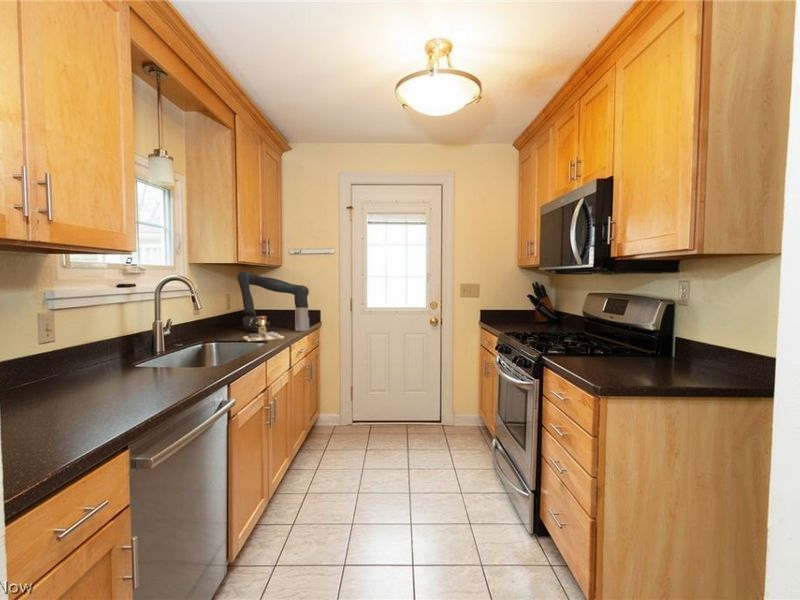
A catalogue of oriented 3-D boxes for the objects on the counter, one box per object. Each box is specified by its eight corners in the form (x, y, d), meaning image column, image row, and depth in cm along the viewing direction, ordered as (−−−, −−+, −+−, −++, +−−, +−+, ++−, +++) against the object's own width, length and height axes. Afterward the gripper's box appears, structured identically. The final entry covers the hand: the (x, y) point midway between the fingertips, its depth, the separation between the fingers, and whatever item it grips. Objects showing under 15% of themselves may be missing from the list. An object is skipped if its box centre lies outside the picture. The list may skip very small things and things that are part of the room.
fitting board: (277, 335, 266) (277, 331, 266) (283, 338, 255) (283, 333, 255) (242, 338, 253) (242, 333, 253) (248, 341, 243) (248, 335, 243)
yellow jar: (265, 333, 272) (265, 315, 271) (268, 335, 267) (268, 316, 266) (256, 334, 268) (256, 316, 267) (259, 335, 263) (258, 317, 263)
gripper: (245, 318, 275) (252, 320, 261) (266, 317, 283) (274, 319, 269) (245, 328, 275) (252, 331, 261) (267, 327, 283) (274, 330, 269)
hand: (263, 325), depth 265 cm, fingers closed on yellow jar, 5 cm apart
